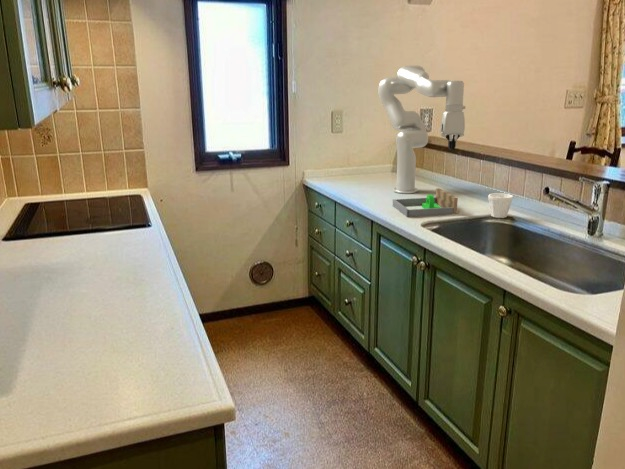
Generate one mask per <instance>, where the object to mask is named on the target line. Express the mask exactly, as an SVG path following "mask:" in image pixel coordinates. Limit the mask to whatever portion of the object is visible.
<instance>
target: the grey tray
mask: <svg viewBox="0 0 625 469" xmlns="http://www.w3.org/2000/svg"><path fill="white" fill-rule="evenodd" d="M426 198H427V197H416V198H414V197H413V198H395V199H392V207H393V208H395V209H396V210H397V211H399V212H400V213H401V214H402V215H403V216H405V217H406V218H413V217H429V216H432V217H433V216H445V215H448V216H449V215H454V214H453V207H446V208H443V207H441V208H428V209H424V208H415V209H414V208H413V209H409V208H407V207H406V206H420V205H421V206H422V203H426ZM434 203H435V204H436V196H434Z"/></svg>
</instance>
